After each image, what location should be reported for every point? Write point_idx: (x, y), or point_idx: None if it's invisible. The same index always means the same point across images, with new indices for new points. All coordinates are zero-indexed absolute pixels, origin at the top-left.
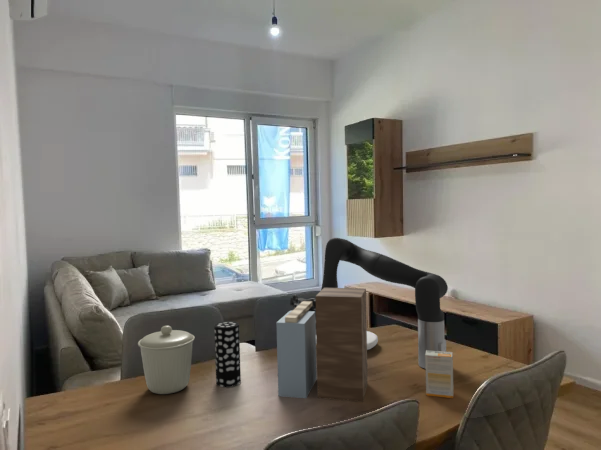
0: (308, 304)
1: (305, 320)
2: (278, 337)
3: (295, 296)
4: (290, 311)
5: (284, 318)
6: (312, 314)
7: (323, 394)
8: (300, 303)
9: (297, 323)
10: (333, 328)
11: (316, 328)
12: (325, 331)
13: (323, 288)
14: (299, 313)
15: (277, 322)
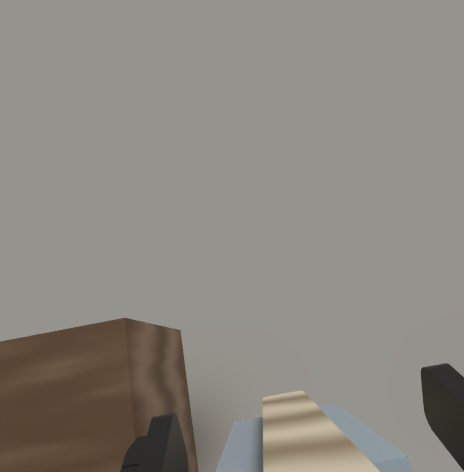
0: (269, 461)
1: (237, 430)
2: None
3: (423, 381)
4: (385, 450)
5: (335, 417)
6: (219, 463)
7: None
8: (361, 455)
9: (259, 418)
10: None
11: (195, 453)
12: None
13: (133, 320)
14: (265, 407)
15: (332, 404)
